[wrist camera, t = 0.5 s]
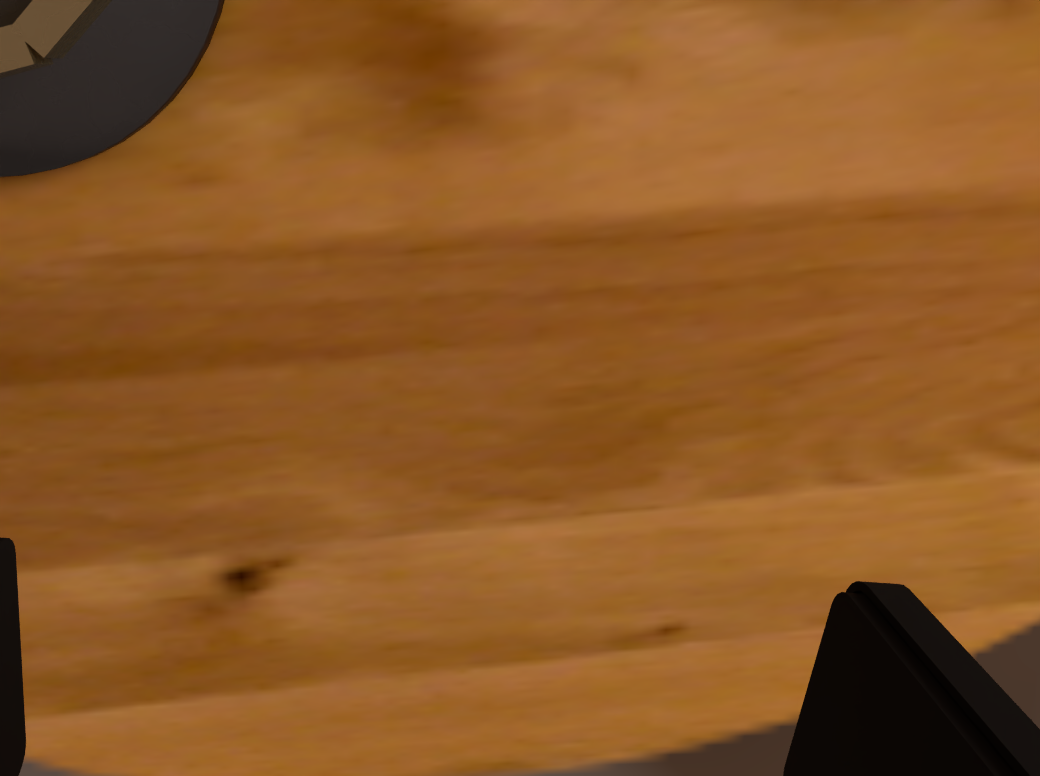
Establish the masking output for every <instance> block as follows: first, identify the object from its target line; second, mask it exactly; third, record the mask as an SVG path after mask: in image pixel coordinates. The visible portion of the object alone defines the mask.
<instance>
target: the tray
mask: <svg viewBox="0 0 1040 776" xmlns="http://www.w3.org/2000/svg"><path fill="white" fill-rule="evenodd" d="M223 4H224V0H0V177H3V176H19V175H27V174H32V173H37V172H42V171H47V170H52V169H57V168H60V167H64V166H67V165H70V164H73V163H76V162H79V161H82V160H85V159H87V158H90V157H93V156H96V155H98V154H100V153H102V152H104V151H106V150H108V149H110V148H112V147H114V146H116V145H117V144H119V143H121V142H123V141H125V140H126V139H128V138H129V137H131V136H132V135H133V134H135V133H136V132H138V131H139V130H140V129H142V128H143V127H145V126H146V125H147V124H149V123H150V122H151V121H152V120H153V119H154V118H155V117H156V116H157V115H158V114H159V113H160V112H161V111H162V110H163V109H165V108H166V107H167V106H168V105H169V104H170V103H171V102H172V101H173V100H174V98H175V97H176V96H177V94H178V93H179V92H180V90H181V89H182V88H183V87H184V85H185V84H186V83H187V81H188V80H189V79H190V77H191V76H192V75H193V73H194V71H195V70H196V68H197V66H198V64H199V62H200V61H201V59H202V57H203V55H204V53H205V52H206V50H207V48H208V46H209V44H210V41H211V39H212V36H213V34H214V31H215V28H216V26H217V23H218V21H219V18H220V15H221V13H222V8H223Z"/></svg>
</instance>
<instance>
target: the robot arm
mask: <svg viewBox="0 0 1040 776" xmlns="http://www.w3.org/2000/svg"><path fill="white" fill-rule="evenodd" d="M25 748H26V733H25V715H24V696H23V678H22V660H21V641H20V623H19V605H18V586H17V568H16V552H15V546H14V543H13V541H12V540H11V539H10V538H0V776H18V775H19V773H20V770H21V767H22V764H23V760H24V755H25ZM783 776H1040V729H1039V728H1038V727H1037V726H1036V725H1035V724H1034V723H1033V722H1032V720H1031V719H1030V718H1029V717H1028V716H1027V715H1026V714H1025V713H1024V712H1023V711H1022V710H1021V709H1020V708H1019V706H1017V705H1016V703H1014V701H1013V700H1012V699H1011V698H1010V697H1009V696H1008V695H1007V694H1006V693H1005V692H1004V690H1003V689H1002V688H1001V687H1000V686H999V685H998V684H997V683H996V682H995V681H994V680H993V679H992V677H991V676H990V675H989V674H988V673H987V672H986V671H985V670H984V669H983V668H982V667H981V666H980V665H979V664H978V662H977V661H976V660H975V659H974V658H973V657H972V656H971V655H970V654H969V653H968V652H967V651H966V650H965V649H964V647H963V646H962V645H961V644H960V643H959V642H958V641H957V640H956V639H955V638H954V637H953V636H952V635H951V633H950V632H949V631H948V630H947V629H946V628H945V627H944V626H943V625H942V624H941V623H940V622H939V621H938V620H937V618H936V617H935V616H934V615H933V614H932V613H931V612H930V611H929V610H928V609H927V608H926V607H925V606H924V604H923V603H922V602H921V601H920V600H919V599H918V598H917V597H916V596H915V595H914V594H913V593H912V592H911V591H910V589H908V588H907V587H906V586H904V585H900V584H890V583H875V582H860V581H857V582H854V583H852V584H851V585H850V586H849V587H848V589H847V590H846V592H841V593H839V594H837V595H836V597H835V598H834V600H833V602H832V605H831V608H830V612H829V615H828V619H827V622H826V626H825V629H824V633H823V636H822V639H821V643H820V646H819V650H818V653H817V657H816V660H815V664H814V667H813V670H812V674H811V677H810V681H809V684H808V688H807V691H806V695H805V698H804V702H803V705H802V708H801V712H800V715H799V719H798V722H797V726H796V729H795V733H794V736H793V740H792V743H791V746H790V750H789V753H788V757H787V760H786V764H785V768H784V775H783Z"/></svg>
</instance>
